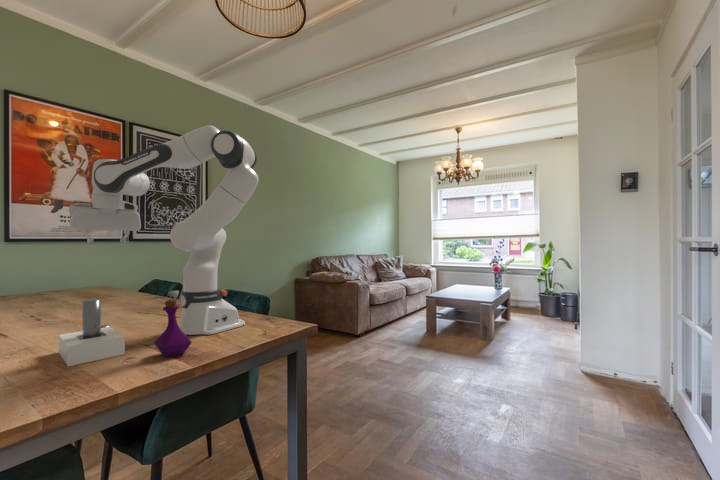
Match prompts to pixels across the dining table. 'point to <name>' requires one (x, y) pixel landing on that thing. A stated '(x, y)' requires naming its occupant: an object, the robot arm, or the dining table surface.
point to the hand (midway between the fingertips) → (107, 243)
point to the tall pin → (91, 318)
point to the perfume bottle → (172, 332)
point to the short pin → (105, 326)
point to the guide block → (91, 346)
